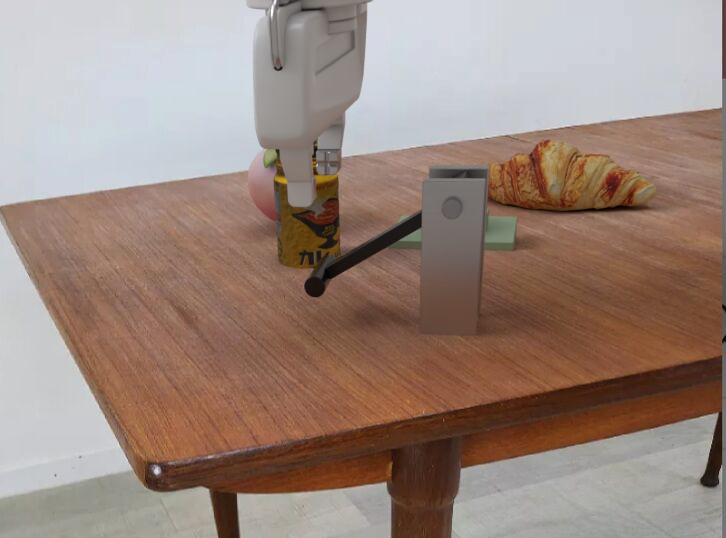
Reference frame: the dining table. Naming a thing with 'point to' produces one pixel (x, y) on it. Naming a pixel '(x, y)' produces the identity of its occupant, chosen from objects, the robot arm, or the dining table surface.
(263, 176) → the decorative fruit
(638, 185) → the croissant
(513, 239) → the block
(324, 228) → the condiment
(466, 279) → the bracket
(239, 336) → the dining table surface
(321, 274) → the lever
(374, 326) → the dining table surface
